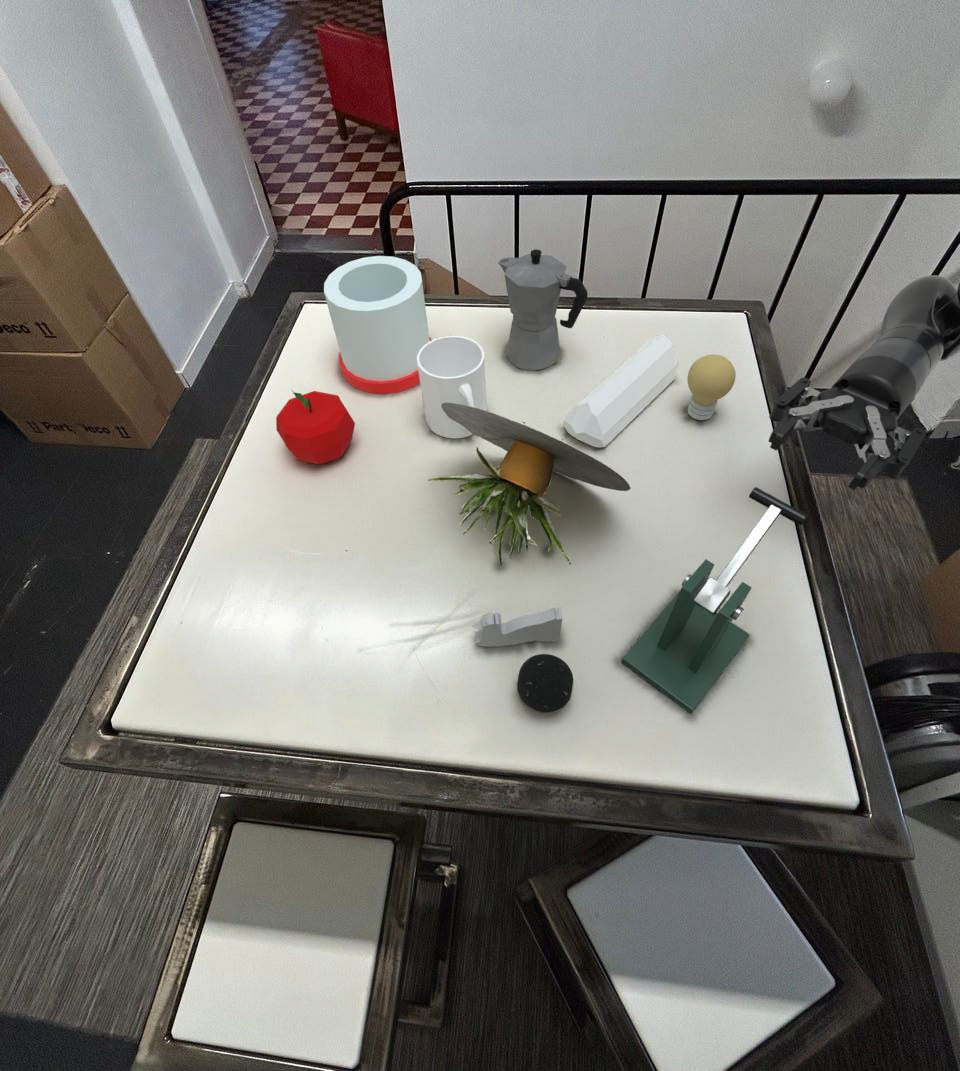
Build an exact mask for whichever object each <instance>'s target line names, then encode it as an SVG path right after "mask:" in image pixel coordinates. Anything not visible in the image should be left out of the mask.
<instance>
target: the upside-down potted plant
mask: <svg viewBox="0 0 960 1071" xmlns="http://www.w3.org/2000/svg"><path fill="white" fill-rule="evenodd" d="M441 407H442V409H443V411H444V412H445V413H446V415H447V416H448V417H449V418H450V419H452V420H453V421H455V422H457V423H459V424H460V425H462V426H463V427H465V428H466V429H467V430H468V431H469V432H471V433H472V435H473V436H476V437H480V438H481V439H483V440H484V441H487V442H488V443H491V444H492V445H494V446H496V447H498V448H501V449H502V450H504V451H505V452H506V453H505V454H504V456H503V458H502V460H501V462H500V463H499V465H498V467H497V468H496V467H494V466H493V465H492V464H491V463H490V462H489V461H488V460H487V459H486V457H485V456H484V455H483V454H482V452H481V451H480V449H479V447H477V446H476V450H475V452H476V454H477V456H478V459H479V460H480V462H481V464H482V465H483V466H484V467H485V469H486V470H487V471H488V473H490V474H485V473H468V474H455V475H450V476H444V477H443V476H442V477H441V476H440V477H434V478H428V479H427V481H428V482H433V481H434V482H437V481H440V482H443V481H455V482H466V483H464V484H460V485H459V486H458V488H459V489H460V490H458V491H457V492H456V493H454V494H453V497H454V498H455V497H458V496H461V495H463V494H464V493H467V492H469V491H471V490H472V491H473V490H474V489H478V488H481V489H479V490H477V492H475V493H474V494H473V495H472V496H471V497H470V498H469V499H467V500H466V501H465V502H464V503H463V505H462V506H461V510H460V511H459V515H463V514H464V513H466V515H465V516H464V517H463V518H462V519H461V521H460V522H459V526H462V525H463V524H464V523H465V521H467V519H468V518H469V517H471V516H472V515H473V514H474V513H475V512H476V511H477V510H479V509H480V510H479V513H478V514H477V515H476V517H475V518H474V519H473V522H472V523H471V524H470V525H469V526H468V528H466V529H464V530H463V532H462V536H465V535H466V533H467V532H468V531H469V530H470V529H471V528H472V527H473V526H474V525H475V524H476V522H478V520H479V519H480V518H481V516H483V515H486V519H485V526H484V528H483V530H486V529H487V527H488V523H489V521H490V516H491V514H492V511H494V510H496V516H495V522H494V523H495V524H494V532H493V536H492V538H491V539H489V541H488V542H489V545H491V547H492V548H494V547H495V545H496V543H498V546H497V548H498V549H497V554H498V563H499V566H500V567H502V566H503V561H502V559H503V558H502V544H503V542H502V541H504V535H505V531H506V530H507V529H508V528H510V540H509V548H510V550H509V554H508V560H511V557H512V555H513V552H514V550H515V547H516V546H517V543H518V548H517V554H518V555H519V554H520V552H521V550H522V548H523V543H524V542H525V543H524V549H525V551H527V552H528V551H529V545H528V543H530V544H531V545H533V546H535V547H538V544H537V543H536V542H535V540H534V539H533V538H532V536H530V534H529V531H528V530H529V525H528V523H529V522H528V521H529V519H528V517H527V514H528V511H529V516H530V517H531V518H533V520H534V521H537V522H539V524H540V526H541V528H542V529H543V531H544V533H545V535H546V538H547V540H548V542H549V543H548V548H547V553H550V551H551V549H552V546H553V543H554V544H555V546H556V548H558V550H559V551H560V552H561V553H562V555H563V557H564V559H565V560H566V561H567V562H568V565H572V562H571V561H570V559H569V558H568V556H567V555H566V553H565V550H564V548H563V545H562V543H561V541H560V538H559V535H558V533H557V532H556V529H555V526H554V524H553V522H552V519H551V517H550V514H549V513H548V512H547V511H546V509H547V510H549V511H550V512H553V513H555V514H556V515H557V516H559V517H560V516H562V514H561V510H560V509H559V508H558V507H556V506H555V505H554V504H553V503H552V502H550V501H549V500H546V499H545V498H544V497H543V496H544V495H545V494H546V492H547V491H548V488H549V486H550V485H551V481H552V477H553V472H554V473H557V474H560V475H562V476H563V477H566V478H569V479H572V480H575V481H579V482H582V483H586V484H588V485H592V486H594V487H598V488H603V489H608V490H613V491H620V492H627V491H630V490H631V485H630V483H629V482H628V481H627V480H626V479H625V478H624V477H623V476H622V475H621V474H619V473H618V472H617V471H615V470H614V469H612V468H611V467H610V466H608V465H606V464H604V462H602V461H599V460H598V459H596V458H595V457H592V456H591V455H589V454H587V453H585V452H583V451H581V450H579V449H578V448H576V447H573V446H572V445H570V444H567V443H565V442H563V440H564V438H561V440H562V441H561V440H560V439H557V438H555V437H552V436H550V435H548V434H546V433H543V432H542V431H540V430H537V429H535V428H533V427H530V426H528V425H526V422H523V421H521V422H522V423H520V422H517V421H515V420H511V419H509V418H507V417H504V416H501V415H499V414H496V413H494V412H490V411H488V410H487V411H484V410H481V409H478V408H473V407H469V406H465V405H461V404H455V403H443V404H442V405H441ZM482 487H483V488H482ZM471 508H472V509H471ZM470 509H471V511H470ZM503 512H504V513H505V512H506V515H505V517H504V520H503V524H502V527H501V528H500V524H501V520H502V517H503ZM499 528H500V530H499ZM497 538H498V542H497V541H496V540H497ZM518 539H519V542H518Z"/></svg>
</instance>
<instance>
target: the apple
mask: <svg viewBox="0 0 960 1071" xmlns="http://www.w3.org/2000/svg"><path fill="white" fill-rule="evenodd" d="M291 392H292V394H293V396H294V397H292V398H289V399H288V400H287V402H286V403H285V404H284V405H283V407H282V409H281V410H280V412H279V413H278V414H277V415H276V416H275V421H276V422H275V425H276V427H275V428H276V429H275V430H276V432H277V433H278V435H279V437H280V439H281V441H282V442H283V443H284V445H285V447H286V448H287V449H288V451H290V453H291V454H292V456H294V458H295V459H296V460H297V461H301V462H305V463H306V462H307V463H310V464H316V465H322V464H325V463H328V462H331V461H334V460H337V459H340V458H341V457H343V455H344V453H345V451H346V450H347V448H348V447H349V445H350V443H351V442H352V440H353V436H354V431H355V427H356V426H355V425H356V423H355V421H354V419H353V418H352V416H351V414H350V413H349V411H348V409H347V408H346V406H345V404H344V403H343V402H342V400H341V398H340V396H339V395H338V394H333V393H327V392H322V391H317V390H313V391H309V392H307V393H304V394H302V393H300V392H294V391H293V390H291Z"/></svg>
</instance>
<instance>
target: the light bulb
mask: <svg viewBox="0 0 960 1071" xmlns="http://www.w3.org/2000/svg"><path fill="white" fill-rule="evenodd" d="M686 378H687V386H688V390H689V391H690V393H691V395H690V400H689V402H688V406H687V413H688V415H689V416H690V417H691V418H692V419H694V420H697V421H706V420H709V419H710V418H712V416H714V412H715V410H716V406H717V403H718V400H720V399H722V398H724V397H725V396H726V395H727V394H728V393H730V392H731V390H732V388H733V386H734V384H735V382H736V369H735V367H734V365H733V363H732V362H731V361H730V360H729V359H728V358H727V357H725V356H724V355H721V354H715V353H714V354H707V355H703V356H701V357H699V358H698V359H696V360H695V361H694V362H692V364H691V366H690V368H689V369H688V373H687V376H686Z"/></svg>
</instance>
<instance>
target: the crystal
mask: <svg viewBox="0 0 960 1071" xmlns="http://www.w3.org/2000/svg"><path fill="white" fill-rule="evenodd" d="M678 367H679V359H678V355H677V353H676V348H675V346H674V343H672V341H671V340H670V339H668V338H667V337H666V336H665V335H664V334H662V333H661V334H657V335H654V336H652V337H651V338H650V339H648V340H647V342H645V344H643V345H642V346H641V347H640V348H639V349H637V350H636V351H635V352H634V353H633V354H632V355H631V356H630V357H629V358H627V359H626V360H625V362H623V363H622V364H621V365H620V366H619V367H617V368H616V369H615V371H613V372H611V374H610V375H609V376H607V378H606V379H604V380H603V381H602V382H601V383H600V384H598V385H597V386H596V387H595V388H594V389H593V390H592V391H591V392H590V393H588V394H587V396H585V397H583V399H582V400H580V402H578V403H577V404H576V405H575V406H574V407H573V408H572V409H571V410H570V411H568V413H567V414H565V416H564V418H563V420H562V425H563V427H564V428H565V430H566V431H567V433H568V434H569V435H571V436H572V437H573V438H575V439H577V440H579V441H581V442H582V443H585V444H587V445H589V446H591V447H593V448H606V447H607V446H608V445H609V444H610V443H611V442H612V441H613V440H614V439H615V438H616V437H617V436H618V435H620V433H621V432H622V431H623V430H624V429H625V428H626V427H627V426H628V425H629V424H630V423H631V422H632V421H633V420H634V419H635V418H636V417H637V416H638V415H639V414H640V413H641V412H642V411H643V410H644V409H646V407H647V406H649V404H650V403H652V401H654V400H655V399H656V398H657V397H658V396H659V395H660V393H662V392H663V391H664V390H665V389H666V388H667V387H668V386H669V385H670V384H671V383H672V382H673V381H674V380H675V379H676V378H677V372H678Z"/></svg>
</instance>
